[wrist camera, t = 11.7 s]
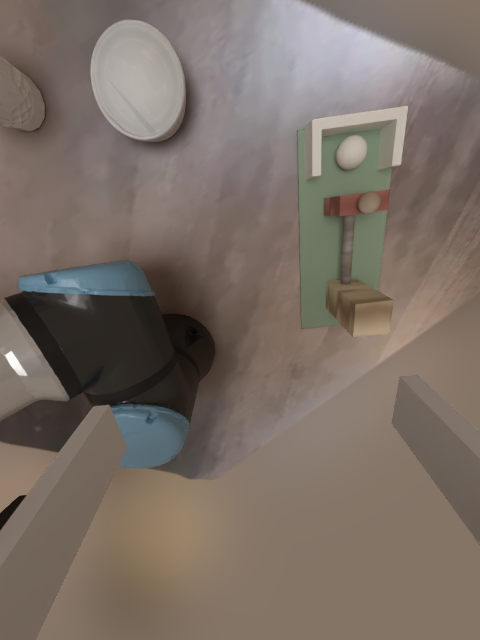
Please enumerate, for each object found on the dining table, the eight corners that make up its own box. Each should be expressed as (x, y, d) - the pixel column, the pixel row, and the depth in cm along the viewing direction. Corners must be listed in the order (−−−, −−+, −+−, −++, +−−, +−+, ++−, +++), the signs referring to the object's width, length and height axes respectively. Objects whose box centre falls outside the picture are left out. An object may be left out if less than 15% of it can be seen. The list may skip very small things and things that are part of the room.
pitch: (374, 320, 48) (374, 321, 47) (301, 328, 48) (301, 329, 48) (396, 116, 35) (397, 115, 35) (297, 130, 36) (297, 130, 35)
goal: (384, 169, 37) (400, 164, 34) (305, 180, 38) (312, 176, 34) (390, 117, 35) (408, 105, 31) (304, 129, 35) (312, 119, 32)
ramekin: (108, 136, 36) (88, 124, 31) (112, 33, 32) (90, 1, 27) (184, 159, 37) (176, 151, 32) (199, 63, 33) (191, 37, 28)
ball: (370, 166, 34) (374, 130, 32) (341, 170, 34) (343, 134, 32) (357, 168, 37) (360, 136, 35) (331, 172, 38) (332, 140, 36)
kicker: (356, 304, 46) (394, 333, 35) (321, 307, 46) (348, 337, 35) (365, 192, 38) (416, 184, 27) (323, 198, 39) (357, 192, 28)
